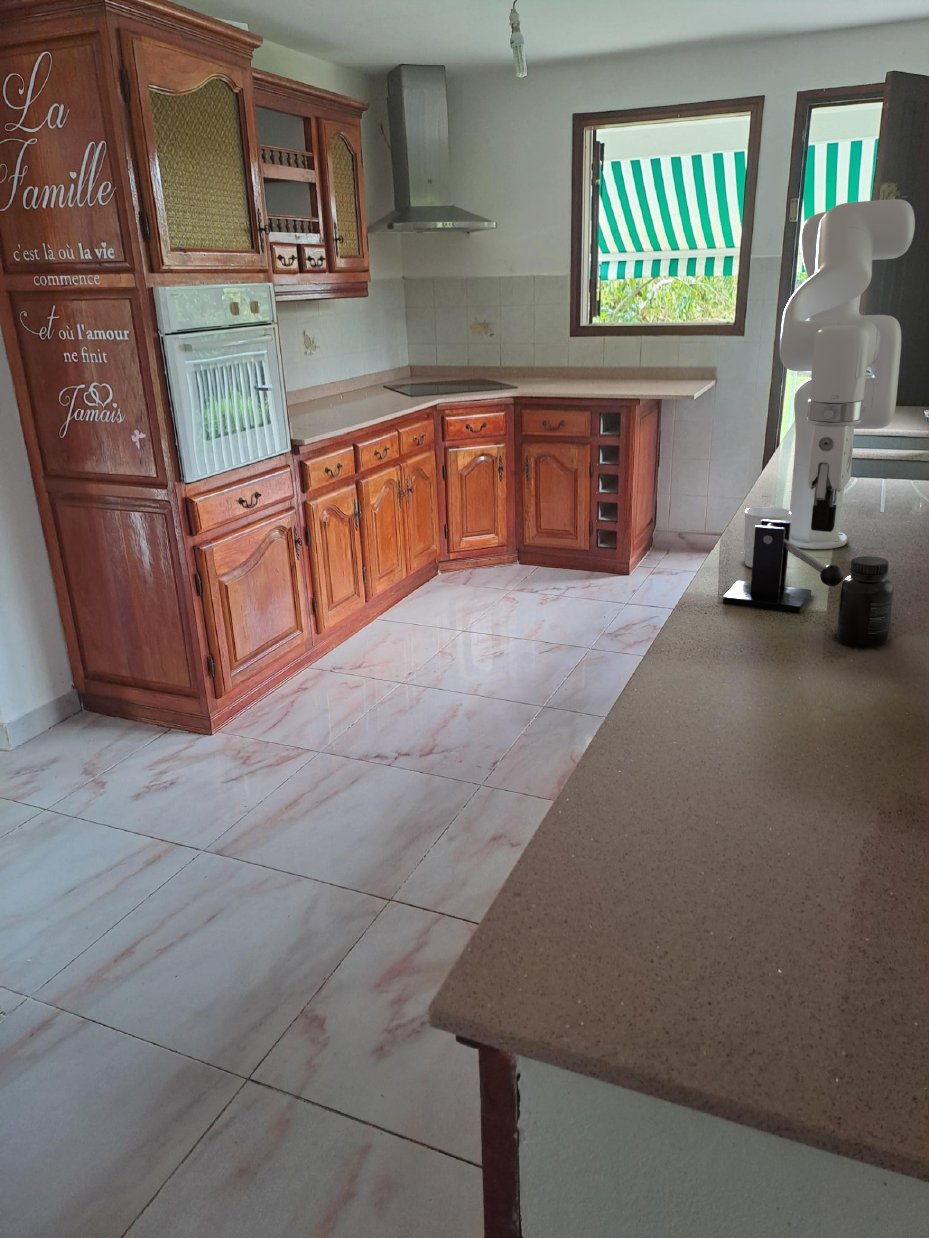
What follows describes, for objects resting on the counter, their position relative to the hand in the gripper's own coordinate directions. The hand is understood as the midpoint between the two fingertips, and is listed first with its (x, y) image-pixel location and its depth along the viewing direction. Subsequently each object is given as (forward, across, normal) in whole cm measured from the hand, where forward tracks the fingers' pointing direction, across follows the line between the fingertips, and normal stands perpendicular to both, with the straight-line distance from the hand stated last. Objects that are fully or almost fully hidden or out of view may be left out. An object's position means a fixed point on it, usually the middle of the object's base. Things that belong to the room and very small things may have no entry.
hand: (822, 529), depth 139 cm
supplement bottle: (+12, -15, -9) cm, 21 cm away
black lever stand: (+12, -3, +7) cm, 14 cm away
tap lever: (+5, -3, +3) cm, 7 cm away
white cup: (+13, +16, +12) cm, 24 cm away
